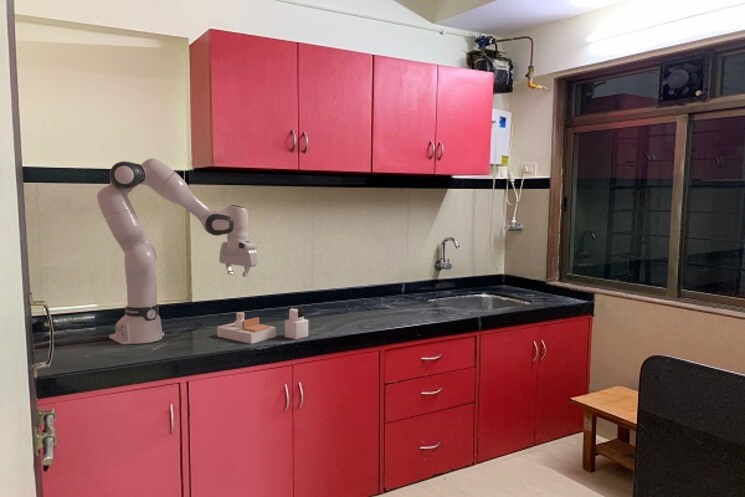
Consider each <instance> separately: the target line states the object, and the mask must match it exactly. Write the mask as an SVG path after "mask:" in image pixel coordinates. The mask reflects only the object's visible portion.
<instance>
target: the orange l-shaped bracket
mask: <svg viewBox="0 0 745 497" xmlns="http://www.w3.org/2000/svg"><path fill="white" fill-rule="evenodd" d="M270 326H271V325H267V324H262V325H261V324H260V317H259V316H258V317H253V318H249V319H244V321H242V329H243V330H248V331H252V332H258V331H262V330H265V329H269V328H270Z"/></svg>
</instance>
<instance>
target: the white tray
mask: <svg viewBox="0 0 745 497" xmlns="http://www.w3.org/2000/svg"><path fill="white" fill-rule="evenodd" d="M261 325H263V324H261ZM269 326H270V328H269V329H265V330H262V331H258V332H252V331H248V330H243V329H242V328H236V327H235V322H231V323H227V324H224V325H220V326H217V328H216V331H217V332H216V333H217V337H218V338H223V339H227V340H231V341H237V342H241V343H246V344H256V343H259V342H263V341H265V340H268V339H273V338H276V337H277V327H275V326H272V325H269Z"/></svg>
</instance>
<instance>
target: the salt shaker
mask: <svg viewBox="0 0 745 497" xmlns="http://www.w3.org/2000/svg"><path fill="white" fill-rule="evenodd" d="M235 315H236V320H235V321H234V323H235V327H236V328H242V321H244V320H245V312H242V311H241V312H236V314H235Z"/></svg>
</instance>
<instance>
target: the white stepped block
mask: <svg viewBox="0 0 745 497" xmlns="http://www.w3.org/2000/svg"><path fill="white" fill-rule="evenodd" d="M288 312H289V313H288V314H289V316H288V317H289V318H288V319H285V320H284V338H288V339H293V340H299V339H303V338H308V337H309V319H305V310H304V309H303V308H301V307H292V308H290V309H289V310H288Z"/></svg>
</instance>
